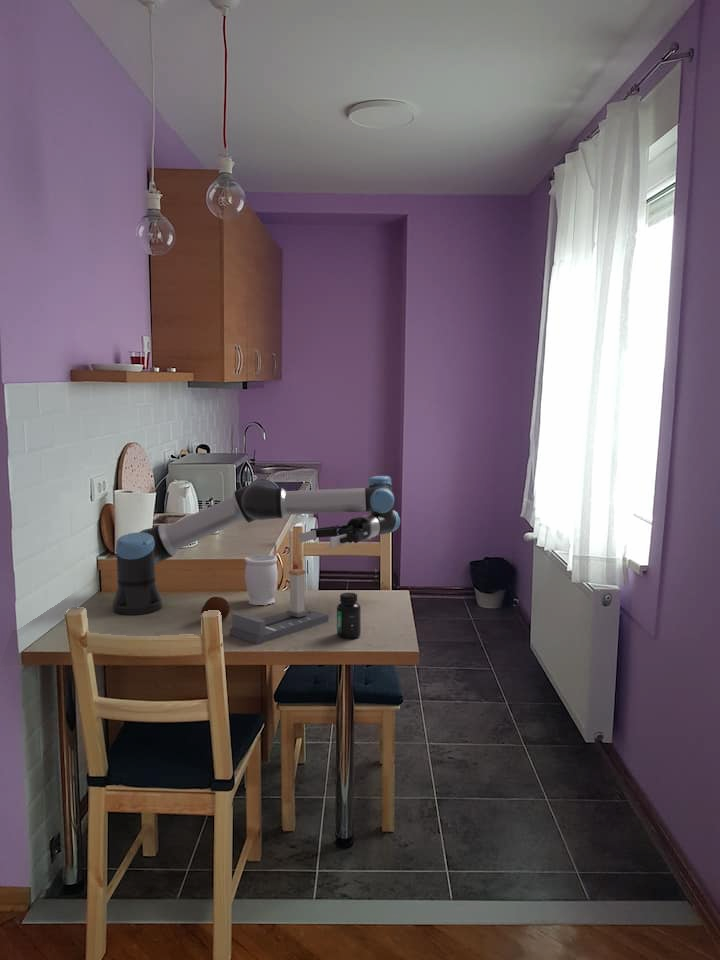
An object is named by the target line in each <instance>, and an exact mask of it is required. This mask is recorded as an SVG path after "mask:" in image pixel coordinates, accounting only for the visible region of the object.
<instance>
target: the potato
mask: <svg viewBox="0 0 720 960" xmlns="http://www.w3.org/2000/svg"><path fill="white" fill-rule="evenodd" d="M208 610H219V611H220V612H221V615H222V620H221V621H223V620H224V619H226V618H227V617H228V615H229V614H230V610H231V609H230V605H229V602H228V601H227V600H226V599H225V598H224V597H220V596H212V597H209V598H208V599H207V600H206V601H205V603H204V604H203V606H202V608H201V612H200V613H201V614H202V613H203V612H204V611H208Z"/></svg>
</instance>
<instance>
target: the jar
mask: <svg viewBox="0 0 720 960" xmlns="http://www.w3.org/2000/svg"><path fill="white" fill-rule="evenodd" d="M244 562H245V563H246V565H245V571H244V579H245V586H246V592H247V594H248V596H249V600H248V604H250V605H252V606H257V605H264V606H269V605H268V604H270V605H273V604H275V603H276V600H275V598H274V597H275V595H276V592H277V585H278V580H279V579H278V578H279V574H278V572H279V571H278V566H277V562H278V556H275V555H270V554H255V555H249V556H247V557H245V558H244ZM272 603H273V604H272Z"/></svg>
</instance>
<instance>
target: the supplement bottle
mask: <svg viewBox="0 0 720 960" xmlns="http://www.w3.org/2000/svg"><path fill="white" fill-rule="evenodd" d="M361 609H362V608H361V605H360V604H359V603H358V594H357V593H355V592H341V594H340V595H339V603H338V604H337V605H336V635H337V637H338V638H339V639H343V640H354V639H358V638H359V637H360V636H361V634H362V633H361V632H362V630H361V629H362V628H361V627H362V625H361V622H362V621H361V620H362V618H361V617H362V616H361V615H362V612H361V611H362V610H361Z"/></svg>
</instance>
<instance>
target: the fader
mask: <svg viewBox="0 0 720 960" xmlns="http://www.w3.org/2000/svg"><path fill="white" fill-rule="evenodd" d="M288 574H289V591H290V592H289V593H290V594H289V596H290V597H289V599H290V600H289V601H290V603H289V605H290V607H289V608H290V609H287V610H286V611H287V614H288V615H291V616H295V617H298V618H299V617H302V616H305V615H308V611H307V610H305V609H306V608H305V605H306V604H305V600H306V599H305V574H306V570H305V569H301V568H293V569H290V570H288Z"/></svg>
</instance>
